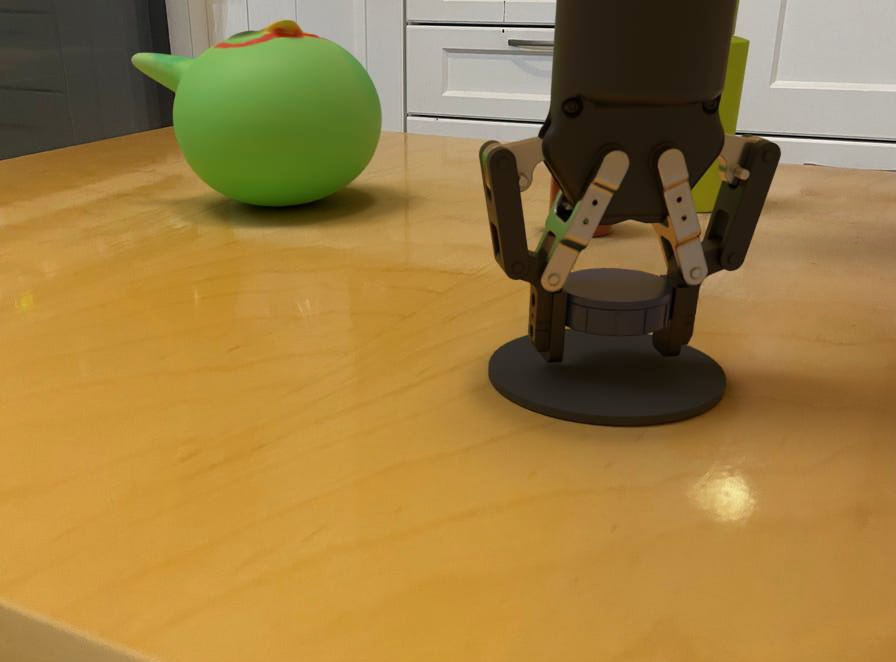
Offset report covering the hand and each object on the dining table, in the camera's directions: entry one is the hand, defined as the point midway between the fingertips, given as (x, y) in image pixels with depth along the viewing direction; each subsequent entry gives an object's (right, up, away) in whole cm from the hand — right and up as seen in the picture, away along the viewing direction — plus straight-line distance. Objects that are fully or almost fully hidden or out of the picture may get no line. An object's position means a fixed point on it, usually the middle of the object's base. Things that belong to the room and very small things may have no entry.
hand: (608, 353), depth 48 cm
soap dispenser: (+15, +18, +35) cm, 42 cm away
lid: (0, +3, -2) cm, 3 cm away
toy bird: (-22, +19, +36) cm, 46 cm away
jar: (+3, +14, +27) cm, 31 cm away
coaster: (0, -1, +1) cm, 1 cm away
